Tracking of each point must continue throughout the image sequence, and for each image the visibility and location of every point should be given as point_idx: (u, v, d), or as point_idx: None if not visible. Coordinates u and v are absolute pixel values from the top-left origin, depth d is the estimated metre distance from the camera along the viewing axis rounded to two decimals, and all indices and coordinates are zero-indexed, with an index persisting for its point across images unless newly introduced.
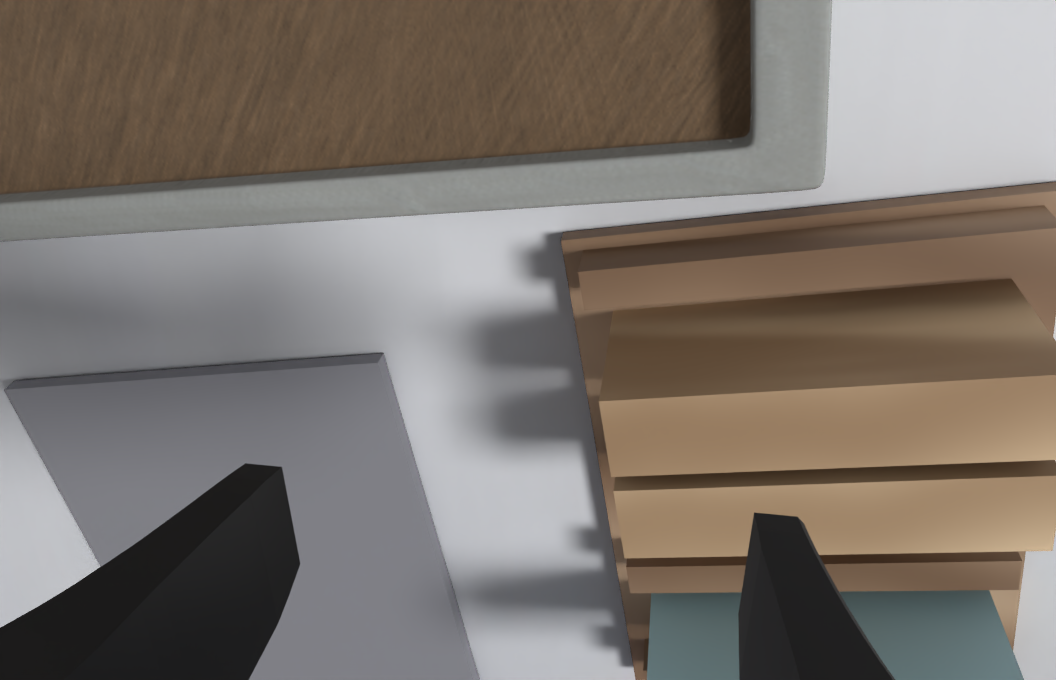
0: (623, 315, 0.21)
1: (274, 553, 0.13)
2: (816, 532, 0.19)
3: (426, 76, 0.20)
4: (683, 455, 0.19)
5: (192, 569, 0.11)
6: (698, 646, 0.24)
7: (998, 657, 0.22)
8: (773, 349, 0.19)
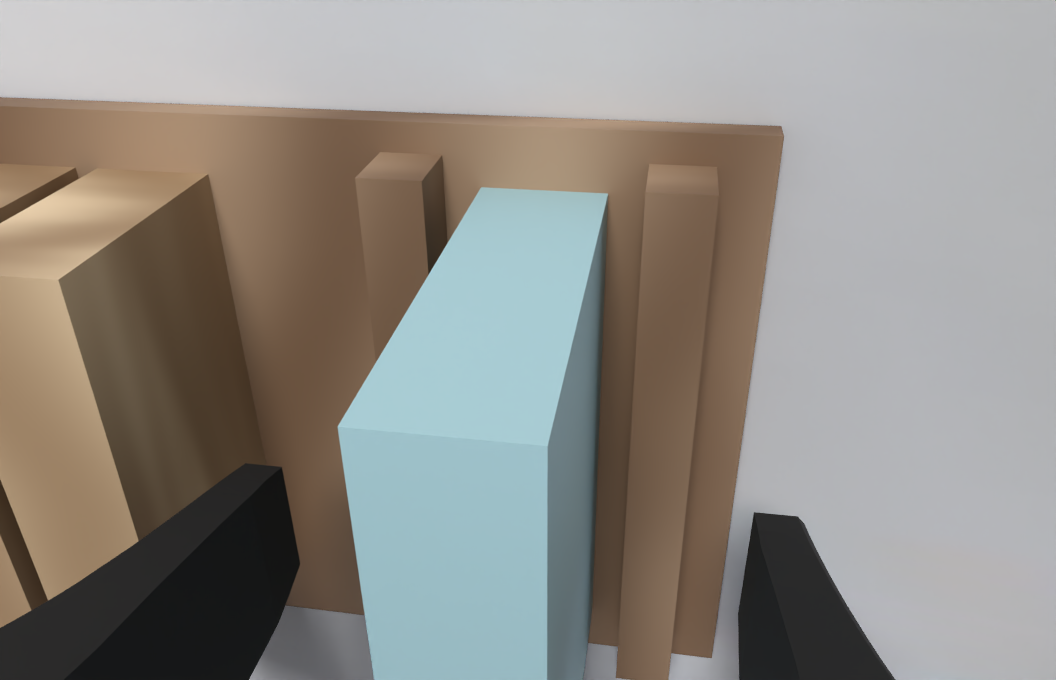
0: None
1: (274, 553, 0.13)
2: (104, 552, 0.14)
3: None
4: None
5: (192, 569, 0.11)
6: None
7: None
8: None
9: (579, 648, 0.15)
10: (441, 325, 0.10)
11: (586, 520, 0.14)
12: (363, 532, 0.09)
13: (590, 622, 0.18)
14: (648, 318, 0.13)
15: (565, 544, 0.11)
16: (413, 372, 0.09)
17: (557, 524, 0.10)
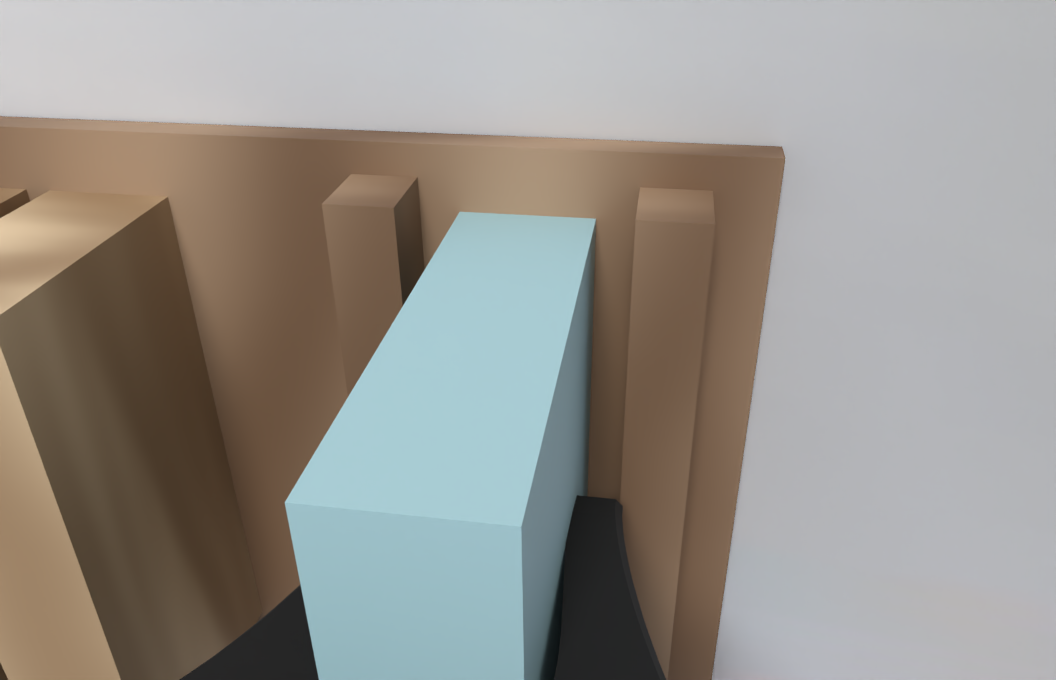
0: None
1: None
2: (54, 606, 0.13)
3: None
4: None
5: None
6: None
7: None
8: None
9: None
10: (408, 376, 0.09)
11: None
12: (317, 614, 0.08)
13: None
14: (639, 354, 0.12)
15: (547, 612, 0.10)
16: (374, 433, 0.08)
17: (536, 599, 0.09)
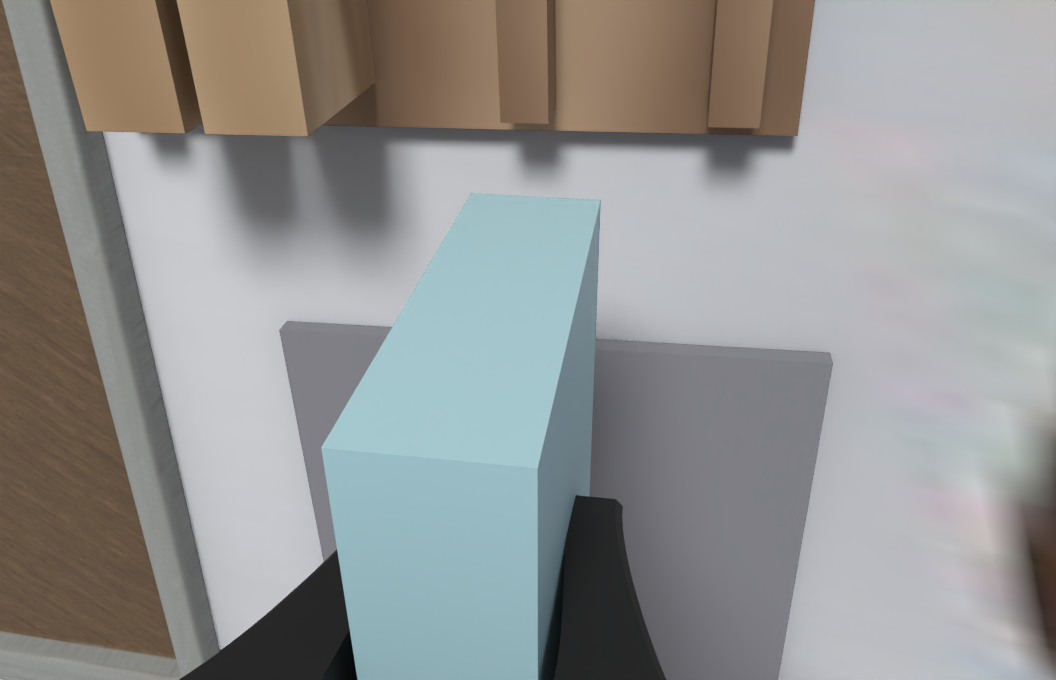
0: None
1: None
2: None
3: (12, 205, 0.23)
4: (137, 42, 0.16)
5: None
6: None
7: None
8: None
9: None
10: (429, 340, 0.10)
11: None
12: (349, 553, 0.09)
13: None
14: None
15: (557, 562, 0.10)
16: (400, 389, 0.09)
17: (548, 544, 0.09)
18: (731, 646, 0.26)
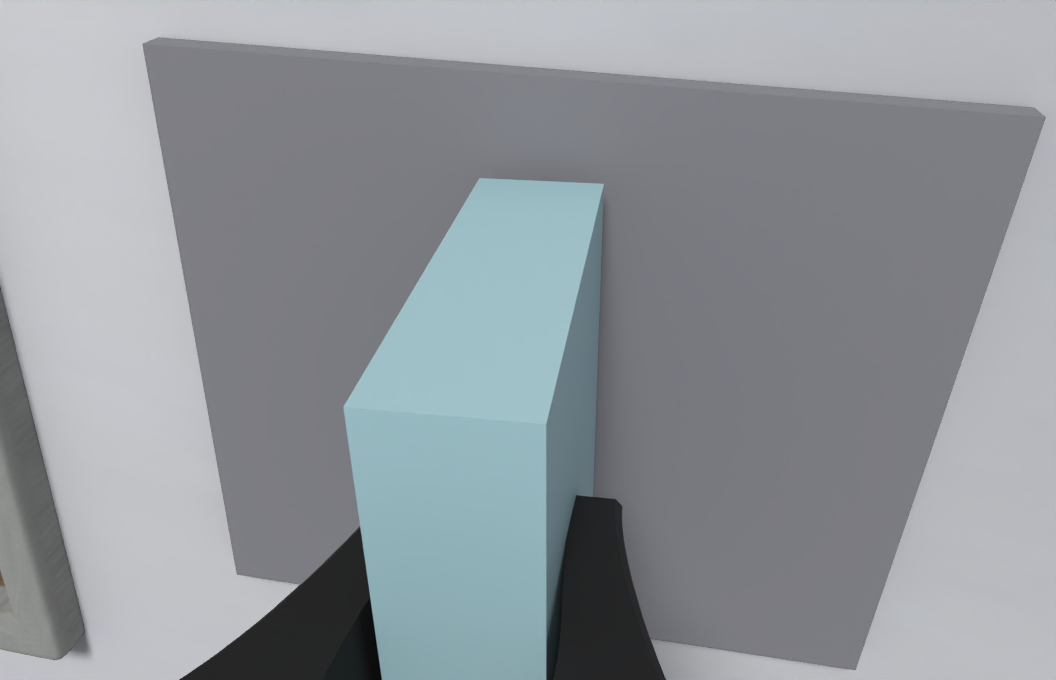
0: None
1: None
2: None
3: None
4: None
5: None
6: None
7: None
8: None
9: None
10: (442, 310, 0.10)
11: None
12: (368, 509, 0.09)
13: None
14: None
15: (563, 523, 0.11)
16: (416, 355, 0.09)
17: (556, 502, 0.10)
18: (803, 594, 0.18)
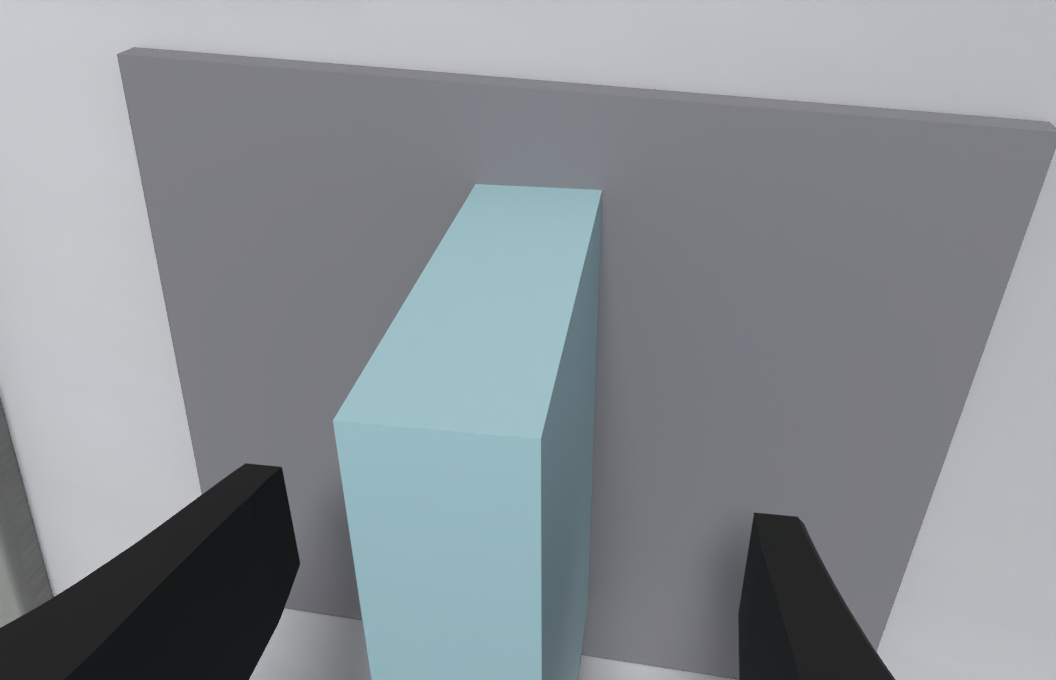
0: None
1: (274, 553, 0.13)
2: None
3: None
4: None
5: (191, 569, 0.11)
6: None
7: None
8: None
9: (574, 642, 0.15)
10: (436, 320, 0.10)
11: (581, 515, 0.14)
12: (359, 524, 0.09)
13: None
14: None
15: (559, 537, 0.11)
16: (408, 367, 0.09)
17: (551, 517, 0.10)
18: None
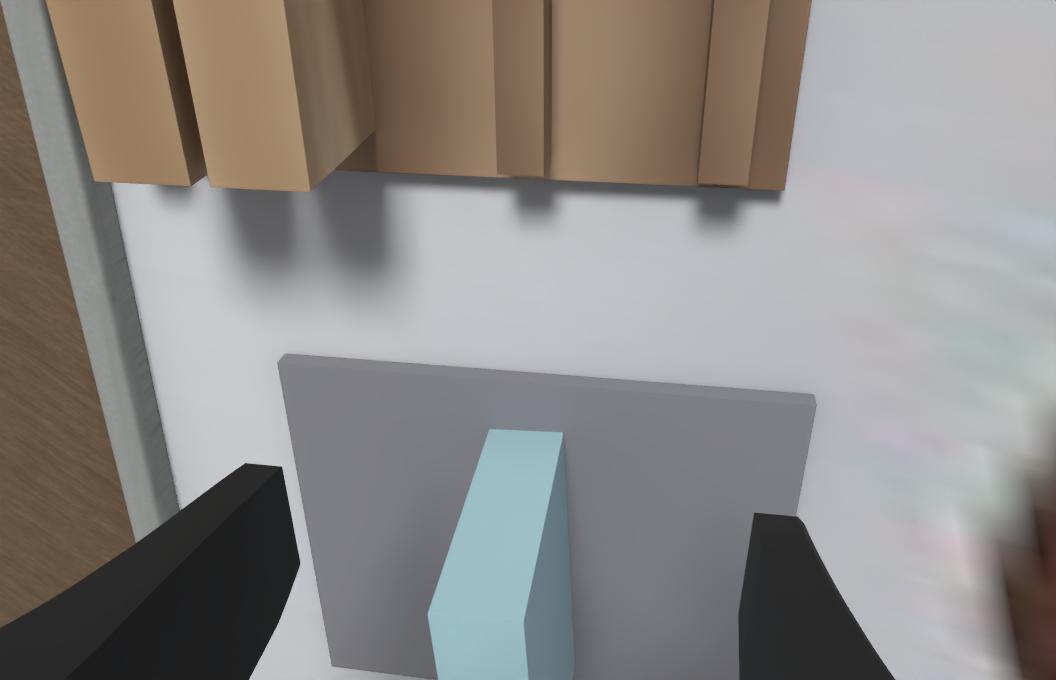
0: None
1: (274, 553, 0.13)
2: None
3: (16, 237, 0.23)
4: (146, 100, 0.16)
5: (192, 569, 0.11)
6: None
7: None
8: None
9: None
10: (471, 546, 0.20)
11: (561, 620, 0.24)
12: (440, 658, 0.19)
13: (573, 674, 0.27)
14: None
15: (541, 651, 0.20)
16: (460, 579, 0.19)
17: (534, 647, 0.19)
18: (715, 673, 0.27)
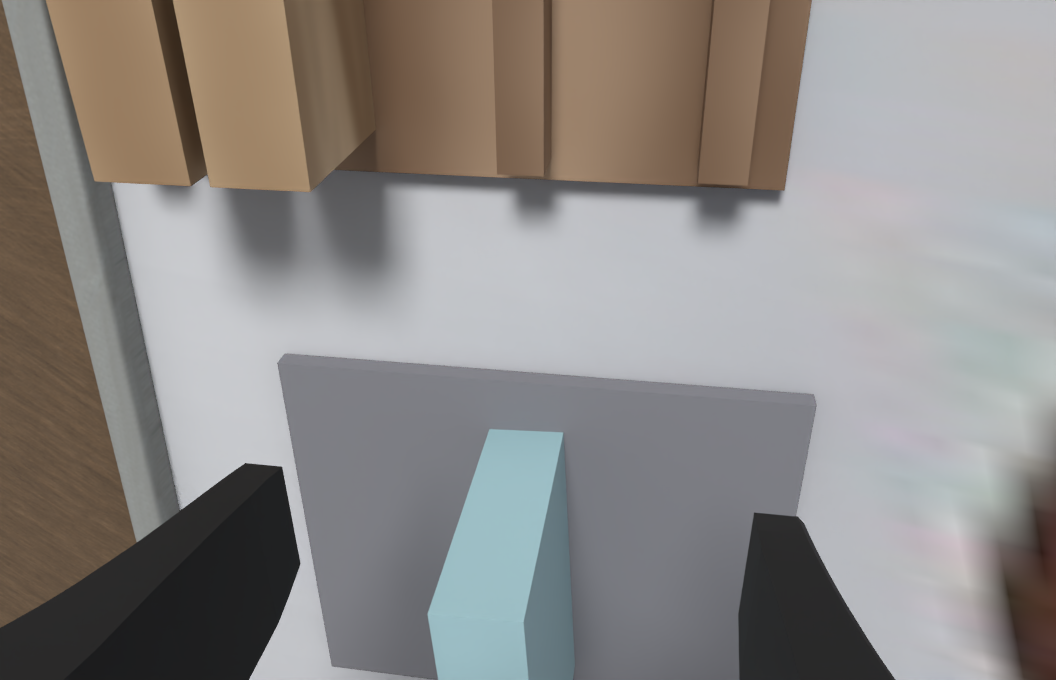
0: None
1: (274, 553, 0.13)
2: None
3: (16, 236, 0.23)
4: (146, 100, 0.16)
5: (192, 569, 0.11)
6: None
7: None
8: None
9: None
10: (471, 546, 0.20)
11: (561, 620, 0.24)
12: (440, 658, 0.19)
13: (573, 674, 0.27)
14: None
15: (541, 651, 0.20)
16: (460, 579, 0.19)
17: (534, 647, 0.19)
18: (715, 673, 0.27)
